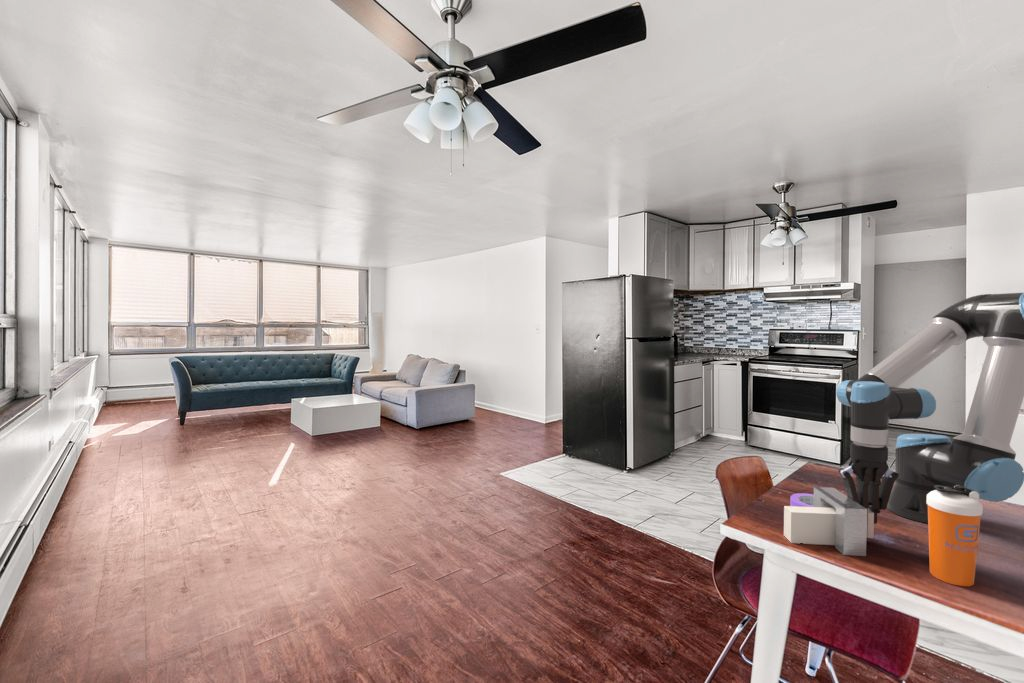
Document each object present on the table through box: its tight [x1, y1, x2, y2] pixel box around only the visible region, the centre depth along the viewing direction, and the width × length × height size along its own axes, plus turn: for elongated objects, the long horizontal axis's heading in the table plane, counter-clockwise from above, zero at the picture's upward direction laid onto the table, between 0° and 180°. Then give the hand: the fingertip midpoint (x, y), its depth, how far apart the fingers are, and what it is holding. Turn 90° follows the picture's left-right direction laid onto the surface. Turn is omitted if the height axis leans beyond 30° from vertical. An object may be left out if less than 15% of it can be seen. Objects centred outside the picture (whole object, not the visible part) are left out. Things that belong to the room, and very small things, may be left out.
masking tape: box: [789, 492, 814, 507], centre depth 135 cm, size 12×12×4 cm
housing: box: [812, 484, 868, 557], centre depth 118 cm, size 5×14×12 cm, turn 173°
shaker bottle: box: [926, 485, 984, 587], centre depth 101 cm, size 9×9×20 cm
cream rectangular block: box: [783, 505, 836, 546], centre depth 118 cm, size 16×4×8 cm, turn 82°
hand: (867, 535), depth 117 cm, fingers closed
